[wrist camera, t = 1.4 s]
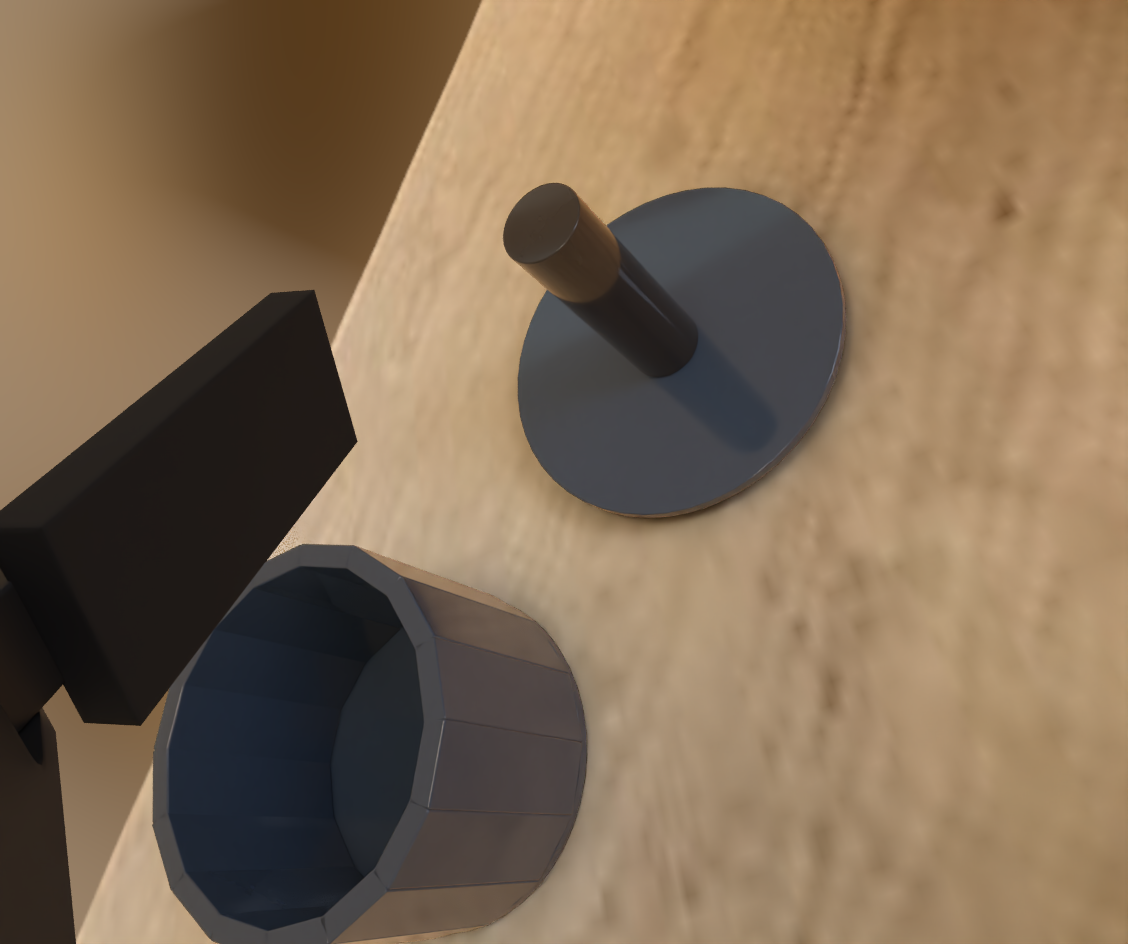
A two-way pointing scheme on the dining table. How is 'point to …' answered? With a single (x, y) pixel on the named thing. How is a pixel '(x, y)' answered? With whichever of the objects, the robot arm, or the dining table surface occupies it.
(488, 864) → the canister
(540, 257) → the lid
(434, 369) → the dining table surface
